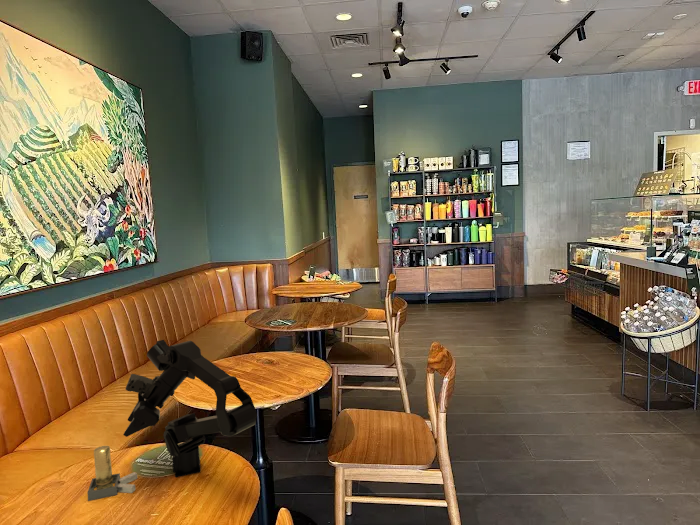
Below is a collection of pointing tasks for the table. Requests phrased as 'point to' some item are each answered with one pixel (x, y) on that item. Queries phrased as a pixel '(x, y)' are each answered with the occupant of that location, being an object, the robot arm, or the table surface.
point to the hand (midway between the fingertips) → (126, 428)
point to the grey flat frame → (111, 491)
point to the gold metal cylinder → (103, 467)
